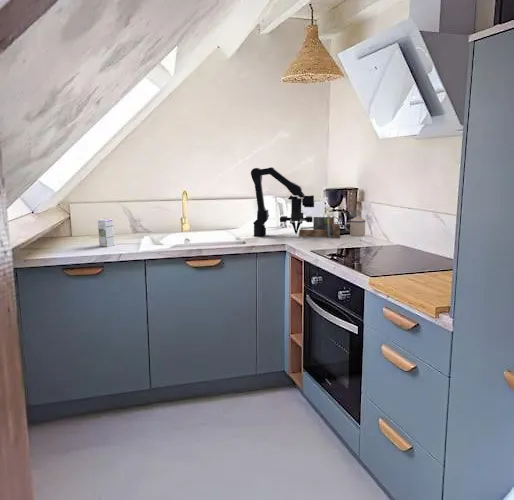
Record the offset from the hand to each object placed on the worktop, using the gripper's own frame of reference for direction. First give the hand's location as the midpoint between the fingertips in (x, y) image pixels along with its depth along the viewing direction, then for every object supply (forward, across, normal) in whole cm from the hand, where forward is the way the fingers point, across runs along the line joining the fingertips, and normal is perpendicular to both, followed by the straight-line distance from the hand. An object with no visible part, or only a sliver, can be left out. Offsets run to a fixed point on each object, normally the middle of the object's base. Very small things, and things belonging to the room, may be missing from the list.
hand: (296, 233), depth 293 cm
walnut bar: (+2, +10, +1) cm, 10 cm away
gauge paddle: (+1, +19, +3) cm, 19 cm away
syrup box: (+2, -99, -39) cm, 106 cm away
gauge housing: (+1, +18, +3) cm, 18 cm away
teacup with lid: (+2, +34, +7) cm, 35 cm away
